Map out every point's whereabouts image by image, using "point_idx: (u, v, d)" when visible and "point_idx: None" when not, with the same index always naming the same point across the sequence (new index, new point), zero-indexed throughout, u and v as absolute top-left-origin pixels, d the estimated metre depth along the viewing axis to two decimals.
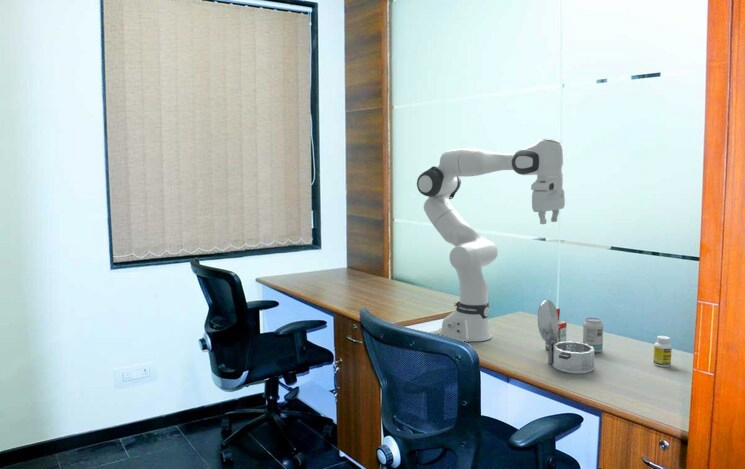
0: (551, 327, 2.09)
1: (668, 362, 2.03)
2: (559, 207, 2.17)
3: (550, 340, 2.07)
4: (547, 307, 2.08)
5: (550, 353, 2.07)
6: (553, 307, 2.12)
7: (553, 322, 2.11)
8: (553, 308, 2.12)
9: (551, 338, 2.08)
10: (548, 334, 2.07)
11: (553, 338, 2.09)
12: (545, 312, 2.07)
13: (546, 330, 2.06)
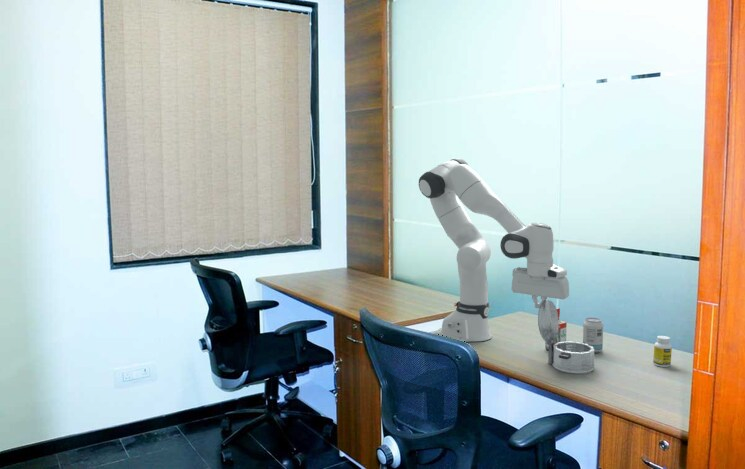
0: (551, 327, 2.09)
1: (668, 362, 2.03)
2: None
3: (550, 340, 2.07)
4: (547, 307, 2.08)
5: (550, 353, 2.07)
6: (553, 307, 2.12)
7: (553, 322, 2.11)
8: (553, 308, 2.12)
9: (551, 338, 2.08)
10: (548, 334, 2.07)
11: (553, 338, 2.09)
12: (545, 312, 2.07)
13: (546, 330, 2.06)
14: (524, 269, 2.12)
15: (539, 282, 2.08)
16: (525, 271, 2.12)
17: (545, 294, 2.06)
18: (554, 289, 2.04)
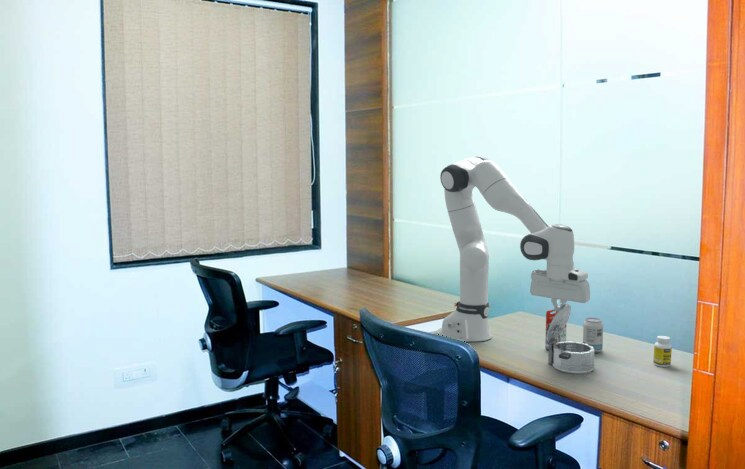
0: (558, 329, 2.07)
1: (668, 362, 2.03)
2: None
3: (551, 340, 2.07)
4: (564, 311, 2.04)
5: (550, 353, 2.07)
6: (569, 311, 2.08)
7: (562, 324, 2.09)
8: (569, 311, 2.08)
9: (553, 339, 2.08)
10: (553, 335, 2.06)
11: (554, 338, 2.09)
12: (560, 316, 2.03)
13: (553, 332, 2.04)
14: (543, 271, 2.07)
15: (559, 285, 2.03)
16: (544, 273, 2.07)
17: (565, 297, 2.02)
18: (574, 293, 1.99)
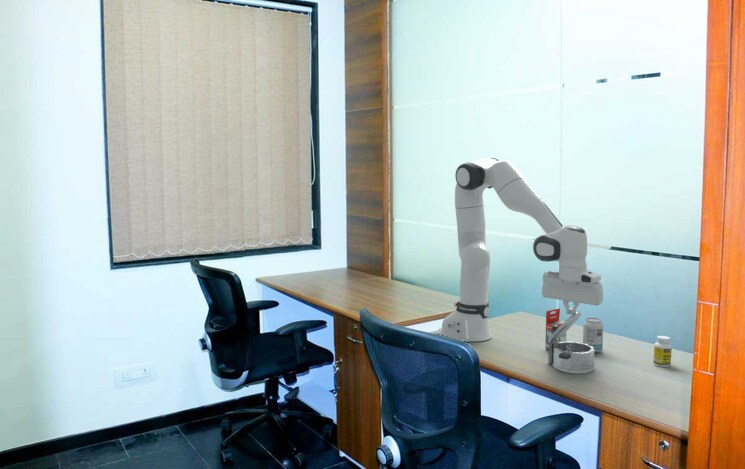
0: (562, 332, 2.07)
1: (668, 362, 2.03)
2: None
3: (552, 341, 2.07)
4: (574, 318, 2.02)
5: (550, 353, 2.07)
6: (578, 317, 2.06)
7: (567, 328, 2.08)
8: (577, 317, 2.07)
9: (554, 339, 2.08)
10: (555, 337, 2.05)
11: (555, 339, 2.09)
12: (569, 322, 2.02)
13: (557, 335, 2.04)
14: (555, 273, 2.05)
15: (571, 287, 2.00)
16: (556, 275, 2.04)
17: (578, 300, 1.99)
18: (587, 295, 1.97)
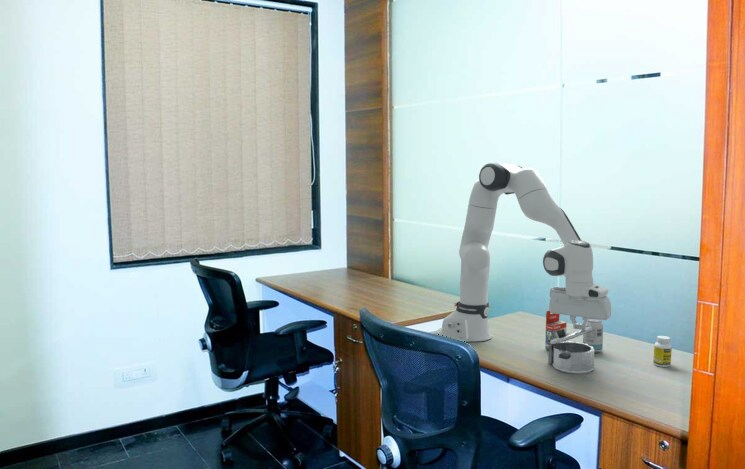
0: None
1: (668, 362, 2.03)
2: None
3: None
4: None
5: (550, 353, 2.07)
6: None
7: None
8: None
9: None
10: None
11: None
12: None
13: None
14: (562, 289, 2.04)
15: (579, 302, 1.99)
16: (563, 291, 2.04)
17: (586, 315, 1.98)
18: (595, 310, 1.96)
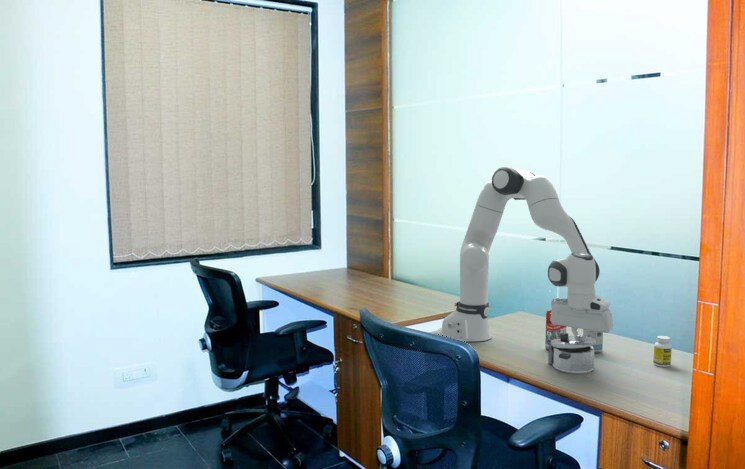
0: None
1: (668, 362, 2.03)
2: None
3: None
4: None
5: (550, 353, 2.07)
6: None
7: None
8: None
9: None
10: None
11: None
12: None
13: None
14: (564, 300, 2.04)
15: (581, 314, 1.99)
16: (565, 302, 2.03)
17: (587, 327, 1.98)
18: (597, 322, 1.96)
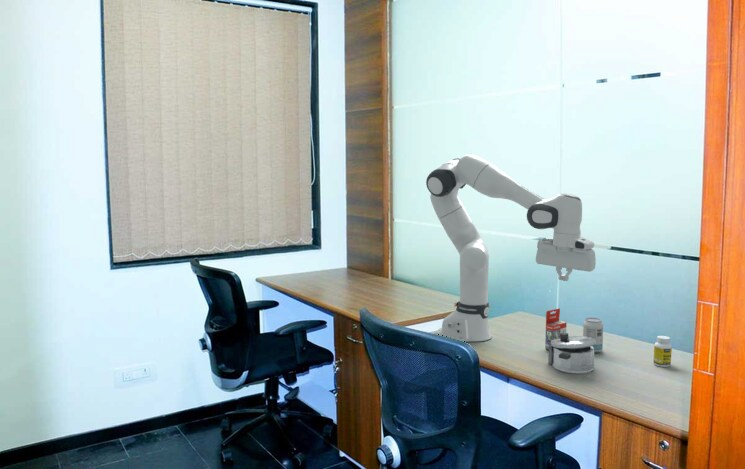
0: None
1: (668, 362, 2.03)
2: None
3: None
4: None
5: (550, 353, 2.07)
6: None
7: None
8: None
9: None
10: None
11: None
12: None
13: None
14: (550, 240, 2.09)
15: (565, 254, 2.05)
16: (551, 242, 2.09)
17: (571, 266, 2.03)
18: (580, 261, 2.01)
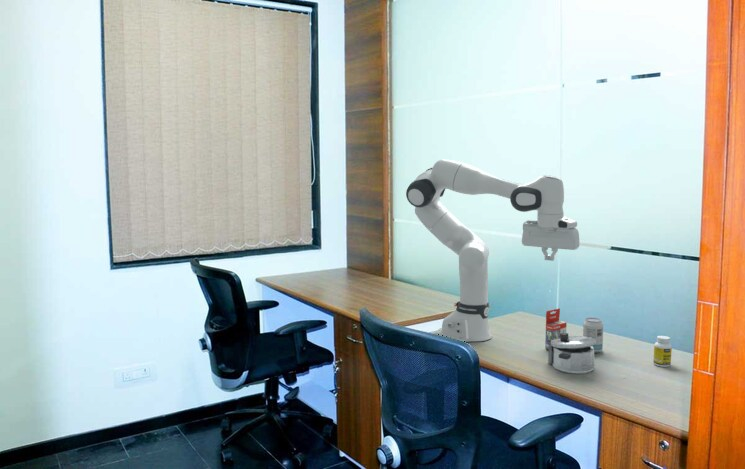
0: None
1: (668, 362, 2.03)
2: None
3: None
4: None
5: (550, 353, 2.07)
6: None
7: None
8: None
9: None
10: None
11: None
12: None
13: None
14: (534, 222, 2.14)
15: (549, 234, 2.10)
16: (535, 224, 2.14)
17: (555, 245, 2.08)
18: (564, 240, 2.06)
